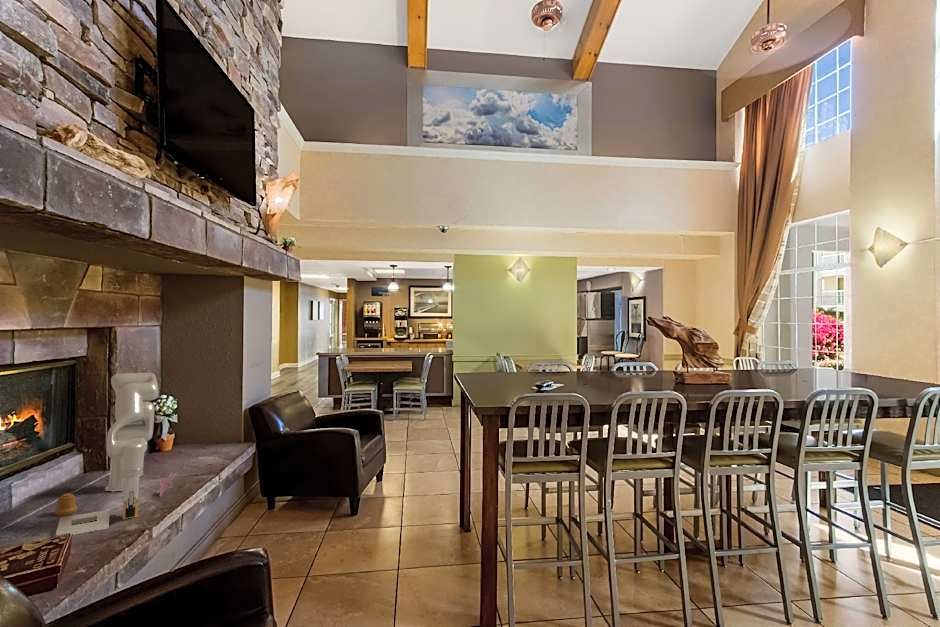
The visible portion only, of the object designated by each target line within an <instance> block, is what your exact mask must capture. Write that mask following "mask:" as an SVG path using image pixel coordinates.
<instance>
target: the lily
mask: <svg viewBox="0 0 940 627" xmlns="http://www.w3.org/2000/svg"><path fill="white" fill-rule="evenodd" d="M177 473H178V472H175V473H173V471H171V472H170V474H169V475H168V477H166V478H161V479H160V480H159V485H160V488H159V489H158V490H157V493H156V494H159V496H160V497H159V498H161V497H162V496H163V494H164V492H165V490H167V489H171V488H173V490H174V491H175V492H177V490H176V488H175V487H174V486H173V483H172V480H174V478H175V476H177Z"/></svg>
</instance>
